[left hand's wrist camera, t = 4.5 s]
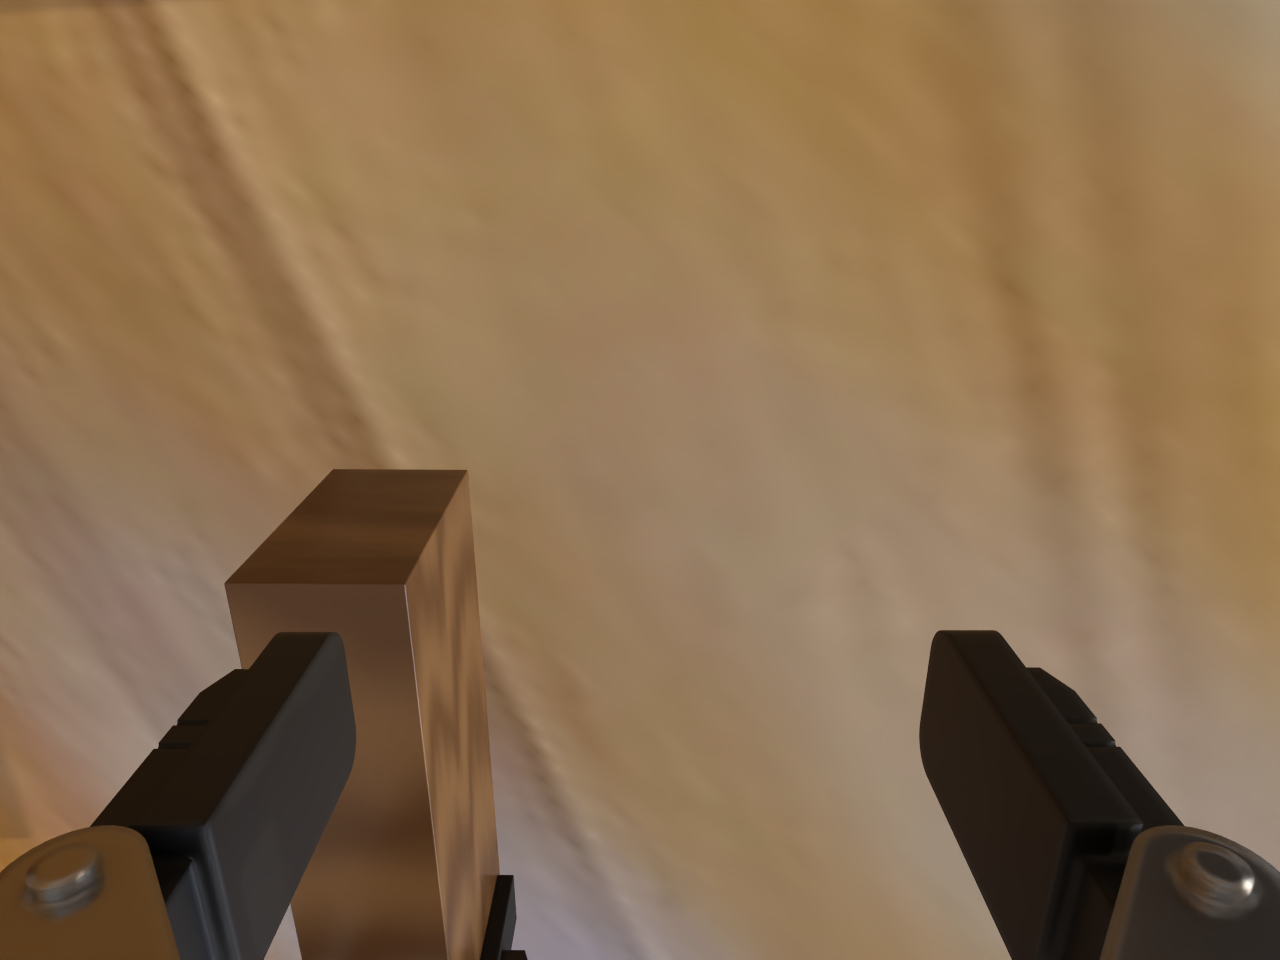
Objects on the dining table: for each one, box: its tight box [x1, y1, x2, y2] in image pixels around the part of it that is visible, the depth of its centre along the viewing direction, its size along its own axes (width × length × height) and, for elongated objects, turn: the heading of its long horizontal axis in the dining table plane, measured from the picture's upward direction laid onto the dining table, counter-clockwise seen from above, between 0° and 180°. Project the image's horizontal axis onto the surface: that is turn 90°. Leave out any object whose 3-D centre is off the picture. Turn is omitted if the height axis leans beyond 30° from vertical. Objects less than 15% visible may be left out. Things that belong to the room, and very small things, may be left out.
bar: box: [225, 469, 500, 960], centre depth 33 cm, size 25×5×9 cm, turn 0°
